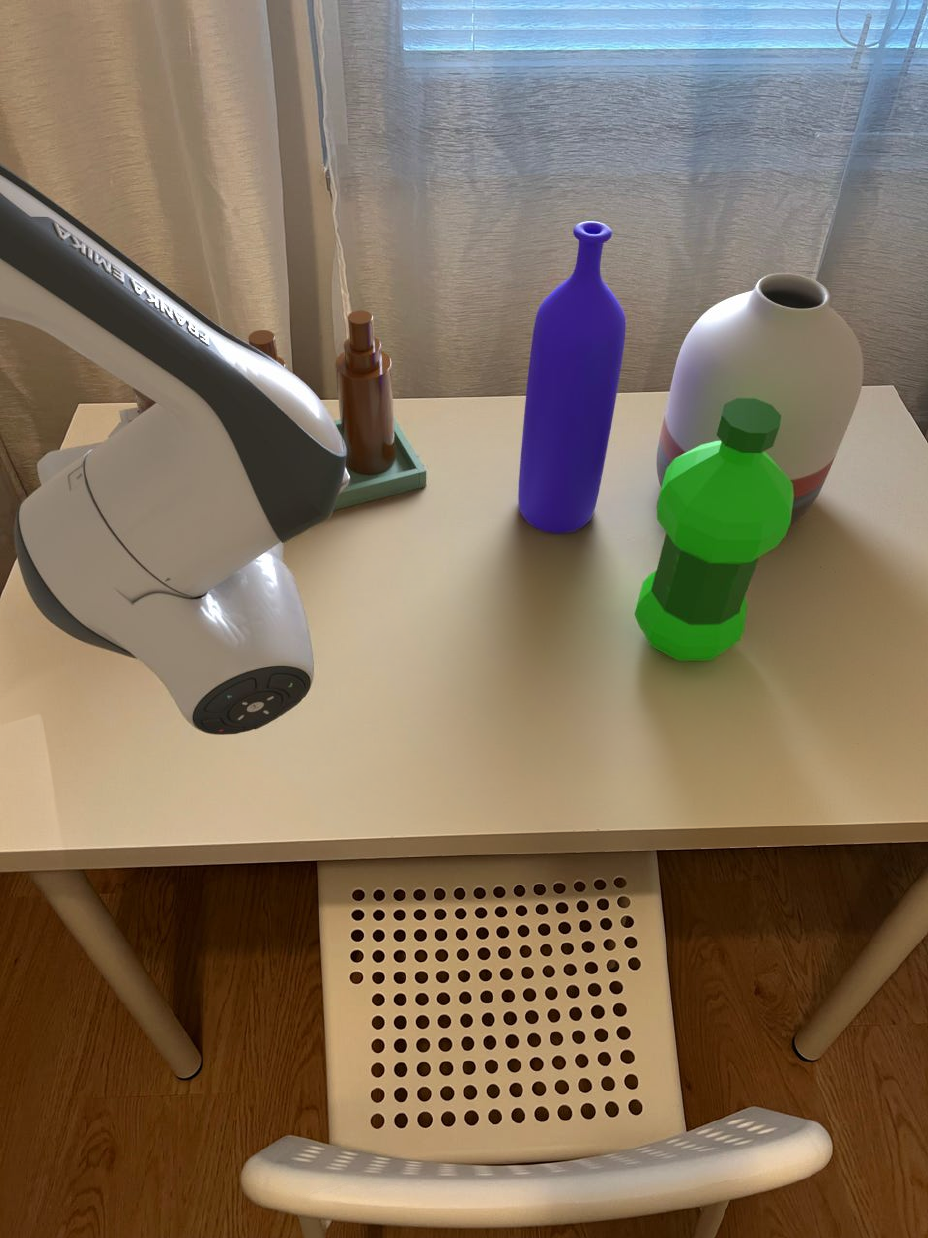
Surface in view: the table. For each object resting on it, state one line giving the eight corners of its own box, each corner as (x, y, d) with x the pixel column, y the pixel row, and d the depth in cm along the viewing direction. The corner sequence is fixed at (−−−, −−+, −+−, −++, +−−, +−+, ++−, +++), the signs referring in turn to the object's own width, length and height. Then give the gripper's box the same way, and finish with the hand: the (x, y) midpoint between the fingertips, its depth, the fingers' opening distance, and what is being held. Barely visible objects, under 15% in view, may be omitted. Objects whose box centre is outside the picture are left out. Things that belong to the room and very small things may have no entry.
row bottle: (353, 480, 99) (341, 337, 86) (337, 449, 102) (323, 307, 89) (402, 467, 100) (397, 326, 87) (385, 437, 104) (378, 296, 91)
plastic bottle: (703, 586, 91) (774, 363, 72) (759, 668, 84) (853, 446, 65) (608, 609, 88) (656, 385, 70) (658, 695, 82) (725, 474, 63)
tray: (122, 565, 91) (116, 549, 89) (103, 490, 98) (97, 475, 96) (426, 486, 99) (426, 470, 98) (389, 423, 106) (388, 407, 105)
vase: (763, 435, 106) (829, 234, 88) (841, 536, 96) (934, 330, 78) (624, 459, 103) (664, 254, 85) (689, 566, 92) (750, 358, 75)
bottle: (598, 537, 95) (650, 256, 72) (516, 535, 95) (543, 253, 72) (592, 483, 100) (639, 206, 78) (515, 481, 100) (539, 202, 78)
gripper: (354, 458, 63) (306, 348, 72) (35, 523, 58) (24, 396, 67) (359, 527, 68) (313, 416, 77) (65, 592, 63) (51, 466, 72)
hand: (176, 407), depth 72 cm, fingers closed on amber bottle, 5 cm apart
